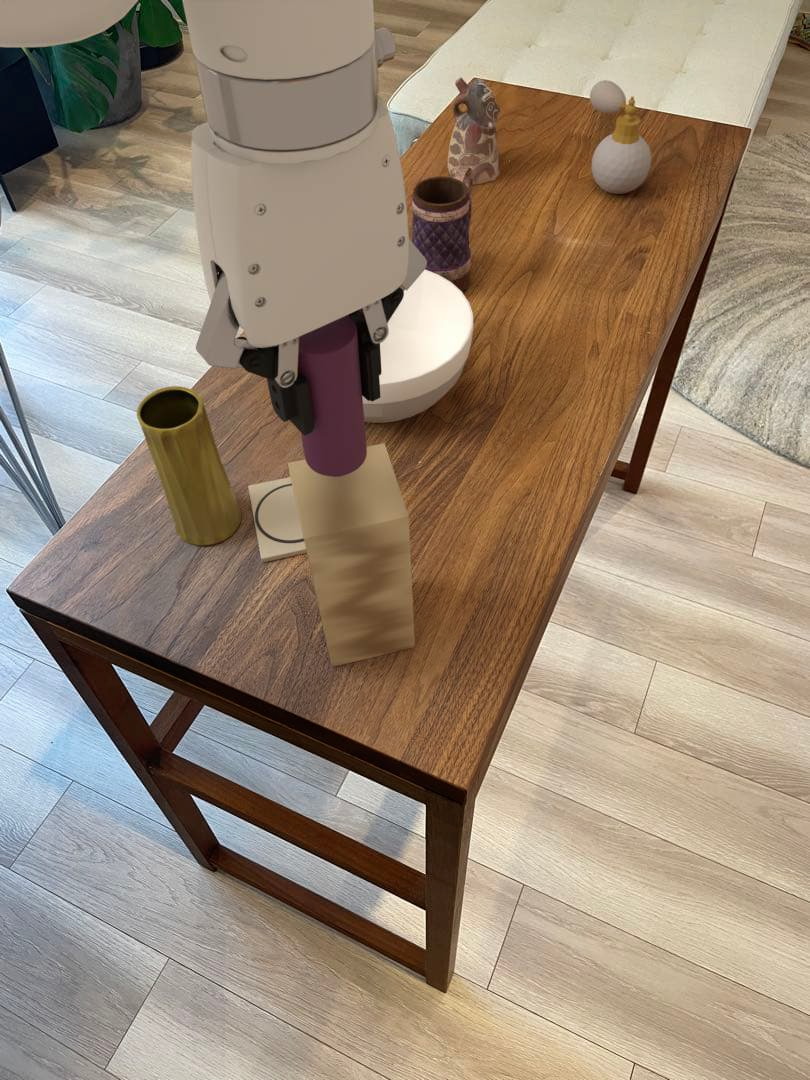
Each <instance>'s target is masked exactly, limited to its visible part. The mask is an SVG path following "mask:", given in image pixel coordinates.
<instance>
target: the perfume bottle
mask: <svg viewBox="0 0 810 1080" xmlns="http://www.w3.org/2000/svg"><path fill="white" fill-rule="evenodd" d="M589 101H590V102H589V103H590V104H591V106H592V108H594V110H596V111H598V112H600V113H602V114H611V115H612V114H617V113H619V112H621V111H623V110H624V112H625V114H621V115H618V117H616V121H615V128H614V130H613V132H612V133H610V134H609V135H607V136H606V137H604V138H603V139H602V140H601V141H600V142H599V143H598V145H597V146H596V148H595V150H594V152H593V155H592V158H591V167H590V169H591V173H592V177H593V179H594V181H595V183H596V184H597V185H598V186H599V187H600V189H601V190H603V191H605V192H607V193H609V194H615V195H622V194H627V193H630V192H633V191H635V190H636V189H637V188H638V187H639V186H641V185H642V184H643V183H644V181H645V180H646V178H647V177H648V175H649V172H650V170H651V166H652V154H651V150H650V146H649V145H648V143H647V141H646V140H645V139H644V138H643V137H642V136H641V135H640V134H639V130H640V126H641V118H640V117H639V116H637V115H634V114H635V113H636V112H637V106H636V105H635V104H636V100H635V96H630V98H629V99H628V104H627V97H626V95H625V93H624V91H623V89H622V88H621V87H620V86H619V85H618V84H617V83H615V82H613V81H611V80H606V79H603V80H599V81H598V82H596V83H595V84H594V85H593V86H592V88H591V89H590V92H589Z"/></svg>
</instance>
